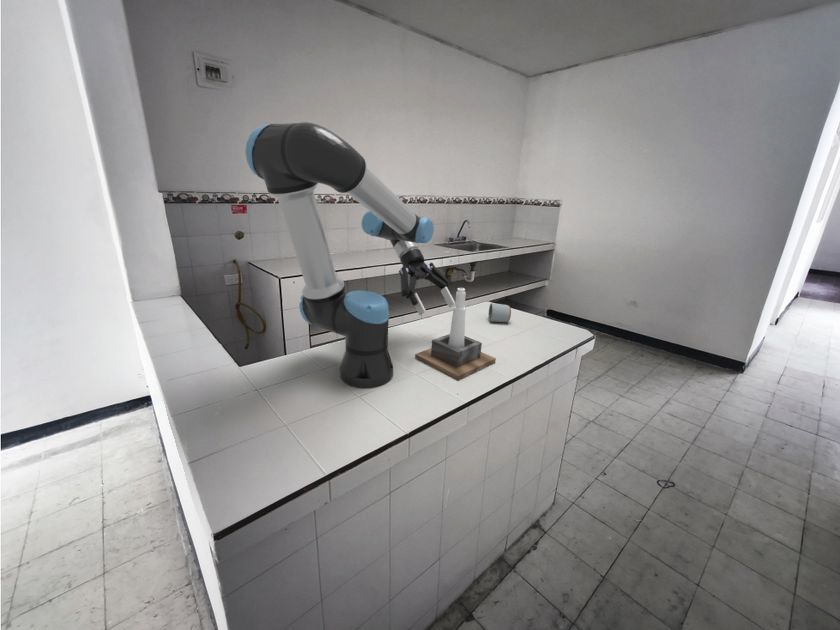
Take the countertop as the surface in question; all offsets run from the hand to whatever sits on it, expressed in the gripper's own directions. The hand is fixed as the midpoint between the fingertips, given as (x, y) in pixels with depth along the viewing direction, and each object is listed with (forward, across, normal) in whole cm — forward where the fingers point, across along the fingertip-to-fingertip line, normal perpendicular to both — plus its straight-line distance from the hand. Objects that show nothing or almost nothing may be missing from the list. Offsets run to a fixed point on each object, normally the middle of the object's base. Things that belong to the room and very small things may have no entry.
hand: (438, 309), depth 118 cm
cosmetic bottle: (+16, 0, -3) cm, 16 cm away
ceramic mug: (+7, -42, -14) cm, 45 cm away
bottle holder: (+17, 0, -4) cm, 17 cm away
